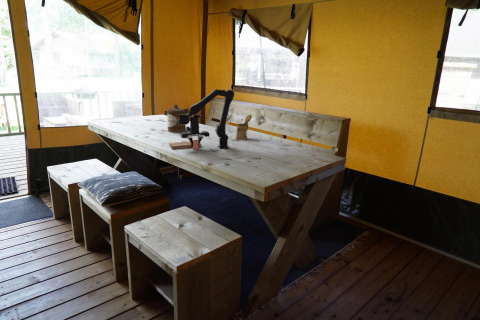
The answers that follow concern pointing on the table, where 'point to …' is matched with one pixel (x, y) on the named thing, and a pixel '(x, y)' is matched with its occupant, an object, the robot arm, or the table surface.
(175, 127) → the wooden container
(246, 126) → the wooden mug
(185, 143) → the board
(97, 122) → the table surface
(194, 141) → the pink and yellow hammer
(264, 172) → the table surface
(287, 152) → the table surface
